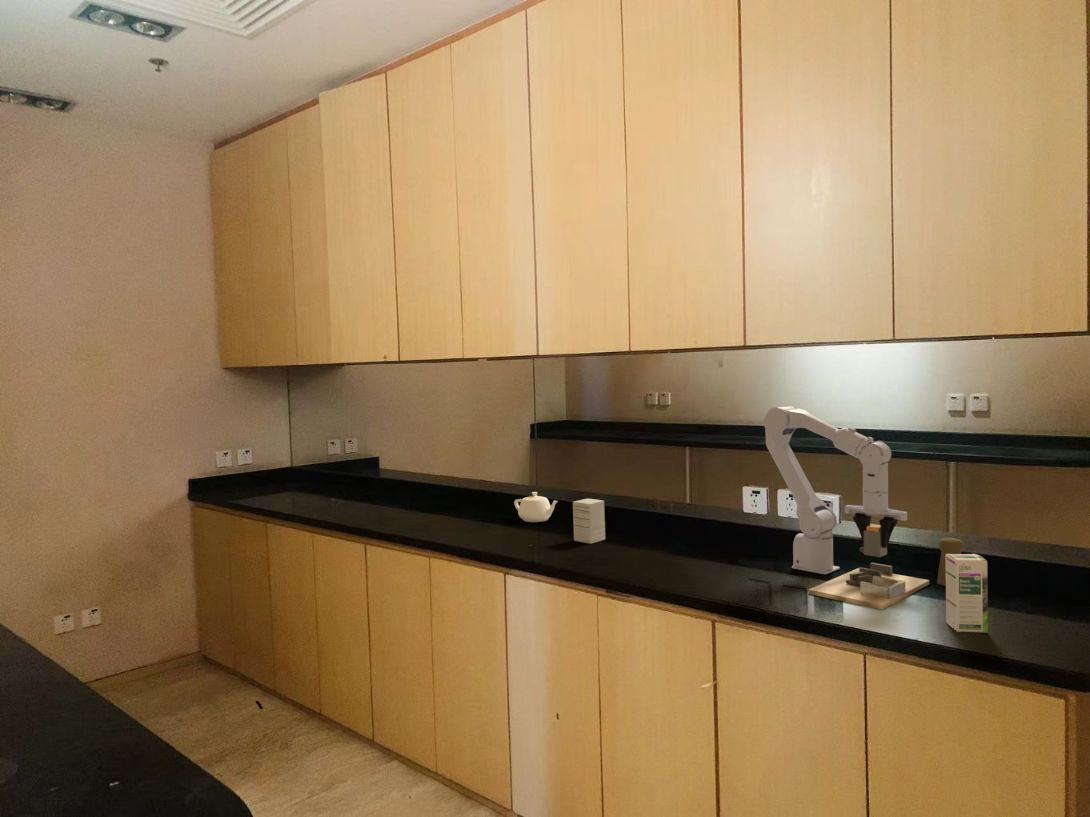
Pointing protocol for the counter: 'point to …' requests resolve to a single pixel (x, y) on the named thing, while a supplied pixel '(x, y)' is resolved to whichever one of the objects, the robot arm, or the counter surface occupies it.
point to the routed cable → (856, 582)
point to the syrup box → (966, 592)
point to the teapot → (534, 508)
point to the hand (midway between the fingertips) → (875, 545)
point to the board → (852, 594)
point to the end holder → (883, 587)
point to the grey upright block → (873, 542)
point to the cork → (947, 548)
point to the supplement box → (589, 520)
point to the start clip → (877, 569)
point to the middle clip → (860, 577)
